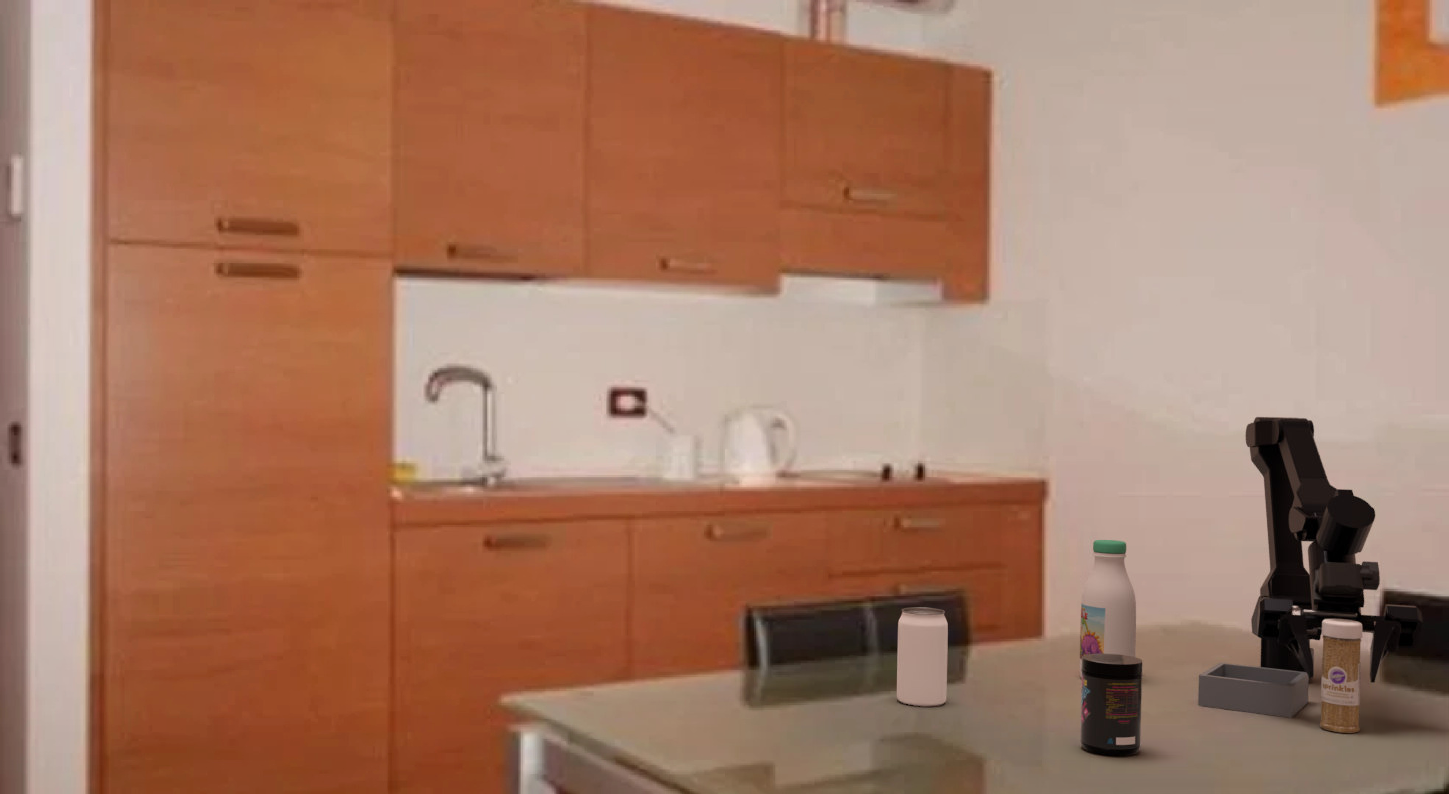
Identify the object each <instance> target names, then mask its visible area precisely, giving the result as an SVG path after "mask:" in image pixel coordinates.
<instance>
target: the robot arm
mask: <svg viewBox="0 0 1449 794" xmlns="http://www.w3.org/2000/svg"><path fill="white" fill-rule="evenodd" d="M1314 436H1315V426H1314V423H1313V420H1311V419H1308V418H1306V417H1305V418H1304V417H1301V418H1300V417H1277V416H1276V417H1275V416H1272V417H1271V416H1269V417H1268V416H1266V417H1265V416H1256V417H1255V418H1254V420H1253V422H1250V423H1248V424H1247V425H1246V428H1245V444H1246V446H1247V447H1248V448H1249V453H1250V460H1251V462H1252V463H1253V465H1254V466H1255V467H1256V469H1257V470H1258V471H1259V473H1260V474H1261V475H1262V477H1263V484H1264V485H1263V486H1264V499H1265V513H1266V514H1265V515H1266V526H1267V527H1266V528H1267V529H1266V530H1267V541H1268V544H1267V545H1268V557H1269V568H1270V569H1269V573H1268V574H1267V576H1266V577H1265V580H1264V581H1263V583H1262V585H1261V586H1260V588H1259V596H1258V598H1257V601H1256V604H1255V607H1254V610H1253V612H1252V616H1251V621H1250V622H1251V623H1250V624H1251V633H1252V634H1253V635H1255V636H1256V637H1258V638H1259V639H1260V666H1259V667H1264V668H1273V669H1281V670H1290V671H1299V672H1306V673H1307V674H1308V676H1309V681H1310V680H1311V679H1313V678H1314V673H1315V671H1314V670H1315V669H1314V668H1315V667H1314V666H1315V664H1314V663H1315V649H1314V648H1313V647H1311V640H1315V641H1320V640H1321V637H1322V621H1323V620H1325V619H1346V620H1353V621H1357V622H1360V623H1361V624H1362V633H1367V634H1368V633H1371V634H1372V639H1371V642H1370V643H1371V645H1370V649H1369V650H1370V655H1369V679H1370V683H1374V684H1375V683H1376V680H1377V677H1378V673H1379V669H1380V666H1381V665H1382V662H1383V661H1384V660H1385V657H1386V656H1387V654H1388V653H1395V652H1397V651H1398V649H1403V650H1405V649H1406V650H1413V649H1416V648H1418V645H1419V642H1420V641H1419V640H1420V636H1421V632H1422V627H1423V622H1424V621H1423V614H1422V611H1421V610H1420V609H1419V608H1418V607H1417V606H1416V605H1405V604H1402V605H1400V604H1386V603H1385V605H1384V610H1383V615H1372V614H1371V615H1370V614H1369V615H1367V614H1362V609H1363V608H1364V607H1365V606H1364V605H1365V595H1364V594H1365V593H1364V590H1369V591H1377V590H1378V588H1379V587H1380V583H1381V579H1380V578H1381V577H1380V568H1379V567H1380V566H1379V562H1378V561H1362V562H1361V564H1360V563H1357V561H1356V559H1357V558H1356V554H1358V553H1361V552H1362V551H1363V548H1364V547H1365V544H1366V541H1367V539H1368V537H1369V534H1370V531H1371V529H1372V526H1373V523H1374V522H1375V518H1376V510H1375V507H1372V505H1370V503H1369V502H1367V501H1366V500H1365V499H1363V498H1361V497H1358V496H1356V495H1354V492H1353V489H1345V488H1344V489H1340V488H1339V489H1338V488H1336V487H1335V486H1333V485H1331V483H1330V481H1329V480H1328V476H1327V473H1326V470H1325V466H1324V464H1323V461H1322V459H1321V455H1320V452H1319V449H1318V447H1317V444H1316V441H1315V438H1314ZM1303 542H1311V543H1310V544H1309V546H1308V547H1307V556H1308V558H1307V559H1308V569H1309V570H1308V571H1307V569H1306V568H1305V564H1304V554H1303ZM1361 608H1362V609H1361Z"/></svg>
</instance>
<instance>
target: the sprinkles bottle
mask: <svg viewBox="0 0 1449 794" xmlns="http://www.w3.org/2000/svg"><path fill="white" fill-rule="evenodd" d="M1321 637H1322V641H1323V642H1322V661H1321V662H1322V664H1321V665H1322V666H1321V682H1320V683H1321V685H1320V700H1321V703H1320V704H1321V707H1320V708H1321V710H1320V713H1321V714H1320V723H1319V727H1321V729H1323V730H1325V731H1329V732H1333V733H1334V732H1335V733H1339V734H1340V733H1341V734H1353V733H1357V732H1359V731H1361V730H1360V723H1359V721H1360V704H1361V703H1360V702H1361V696H1360V695H1361V643H1362V638H1363V632H1362V624H1361V623H1360V622H1357V621H1353V620H1346V619H1325V620H1323V621H1322V633H1321Z"/></svg>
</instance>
